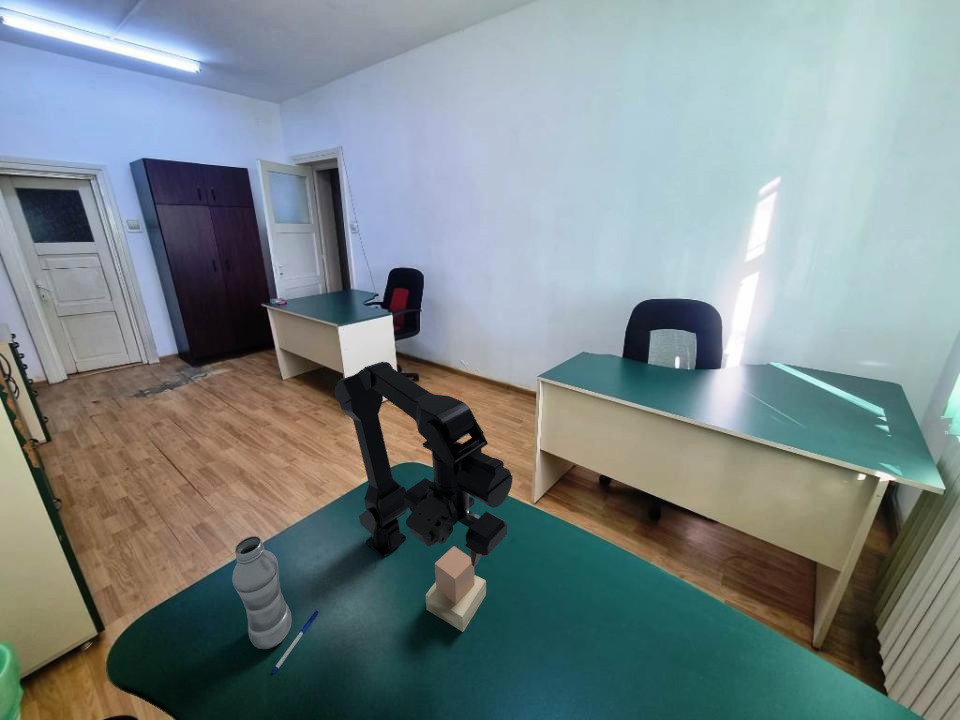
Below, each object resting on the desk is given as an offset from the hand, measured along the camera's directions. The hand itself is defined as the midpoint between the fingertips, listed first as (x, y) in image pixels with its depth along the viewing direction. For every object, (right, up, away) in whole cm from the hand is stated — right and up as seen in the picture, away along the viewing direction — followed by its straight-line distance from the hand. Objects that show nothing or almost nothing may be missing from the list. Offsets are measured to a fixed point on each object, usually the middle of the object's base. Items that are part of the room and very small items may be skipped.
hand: (454, 550), depth 66 cm
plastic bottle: (-31, -14, -1) cm, 34 cm away
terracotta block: (0, -8, +3) cm, 9 cm away
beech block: (0, -12, +4) cm, 13 cm away
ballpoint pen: (-27, -15, -2) cm, 31 cm away
